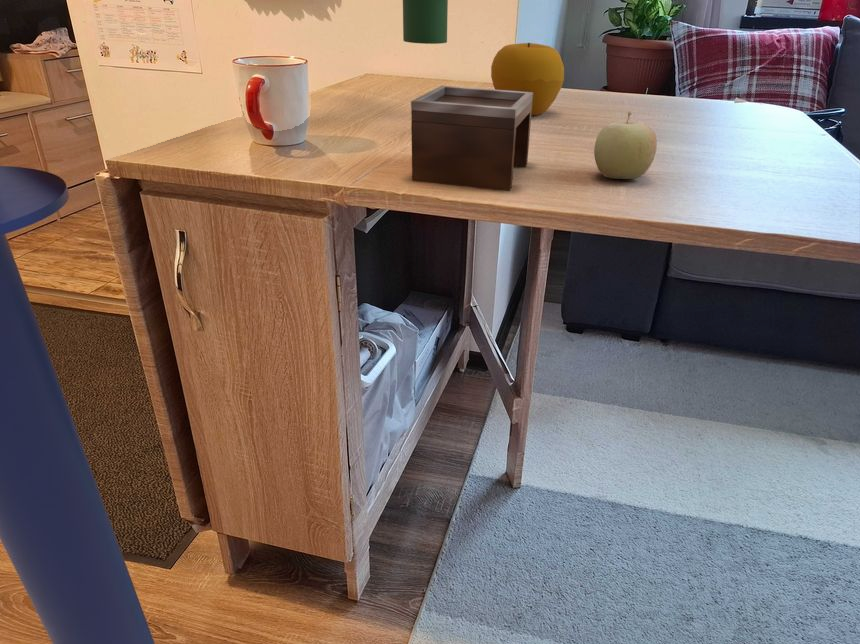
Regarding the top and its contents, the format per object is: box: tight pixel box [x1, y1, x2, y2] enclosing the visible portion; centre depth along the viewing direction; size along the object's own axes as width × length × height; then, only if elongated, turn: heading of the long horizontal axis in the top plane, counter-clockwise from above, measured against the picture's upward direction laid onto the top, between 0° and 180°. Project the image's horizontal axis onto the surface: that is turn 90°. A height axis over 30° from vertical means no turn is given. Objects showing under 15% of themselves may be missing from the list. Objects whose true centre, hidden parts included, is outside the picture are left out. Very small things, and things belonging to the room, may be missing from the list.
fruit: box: [593, 111, 658, 180], centre depth 78 cm, size 8×7×8 cm
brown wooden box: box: [410, 85, 533, 192], centre depth 77 cm, size 12×12×9 cm
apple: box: [490, 42, 565, 117], centre depth 111 cm, size 13×13×11 cm
